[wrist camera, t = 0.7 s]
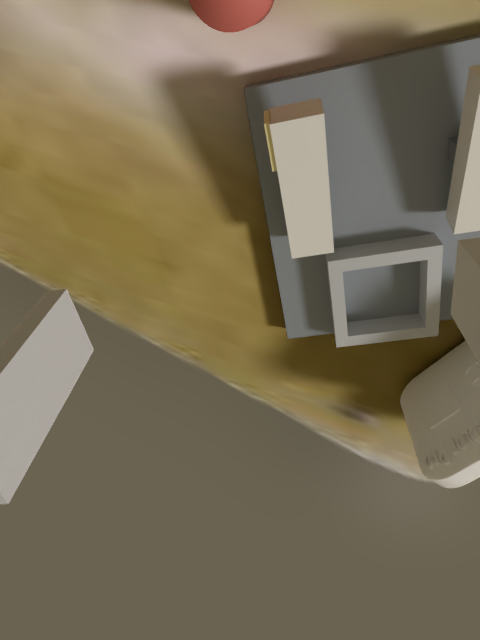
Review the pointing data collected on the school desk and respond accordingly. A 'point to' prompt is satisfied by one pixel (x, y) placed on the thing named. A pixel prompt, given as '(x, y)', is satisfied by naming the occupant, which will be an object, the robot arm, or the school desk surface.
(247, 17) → the red capsule
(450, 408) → the cable organizer
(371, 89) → the panel
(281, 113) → the block
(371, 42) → the school desk surface
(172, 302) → the school desk surface
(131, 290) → the school desk surface
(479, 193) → the block
